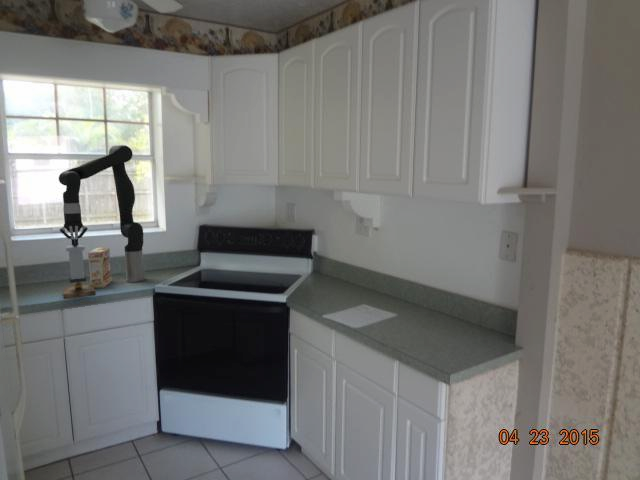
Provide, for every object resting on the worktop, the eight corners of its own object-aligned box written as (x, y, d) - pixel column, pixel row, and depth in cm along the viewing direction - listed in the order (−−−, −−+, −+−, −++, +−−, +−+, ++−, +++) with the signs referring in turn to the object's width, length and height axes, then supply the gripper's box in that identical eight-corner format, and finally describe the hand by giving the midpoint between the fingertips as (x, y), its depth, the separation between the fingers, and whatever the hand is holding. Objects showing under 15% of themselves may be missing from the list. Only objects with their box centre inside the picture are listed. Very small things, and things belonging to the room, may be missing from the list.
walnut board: (93, 288, 245) (93, 284, 245) (95, 294, 233) (94, 290, 233) (63, 291, 238) (63, 288, 238) (63, 298, 226) (63, 294, 226)
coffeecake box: (104, 287, 247) (101, 251, 243) (90, 288, 245) (87, 252, 242) (112, 281, 261) (109, 247, 258) (99, 281, 260) (96, 247, 257)
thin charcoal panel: (85, 278, 240) (85, 275, 239) (86, 281, 233) (86, 278, 233) (69, 279, 236) (69, 276, 236) (70, 282, 230) (69, 279, 230)
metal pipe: (82, 288, 238) (79, 255, 235) (82, 289, 235) (80, 257, 232) (74, 289, 236) (71, 256, 233) (74, 290, 233) (72, 257, 230)
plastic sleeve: (86, 275, 240) (83, 244, 237) (86, 278, 233) (84, 247, 230) (68, 276, 236) (65, 245, 233) (68, 280, 229) (66, 248, 227)
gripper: (86, 210, 236) (89, 244, 238) (57, 212, 229) (60, 246, 232) (87, 212, 229) (90, 246, 232) (57, 213, 223) (60, 248, 226)
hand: (75, 246), depth 232 cm, fingers closed
